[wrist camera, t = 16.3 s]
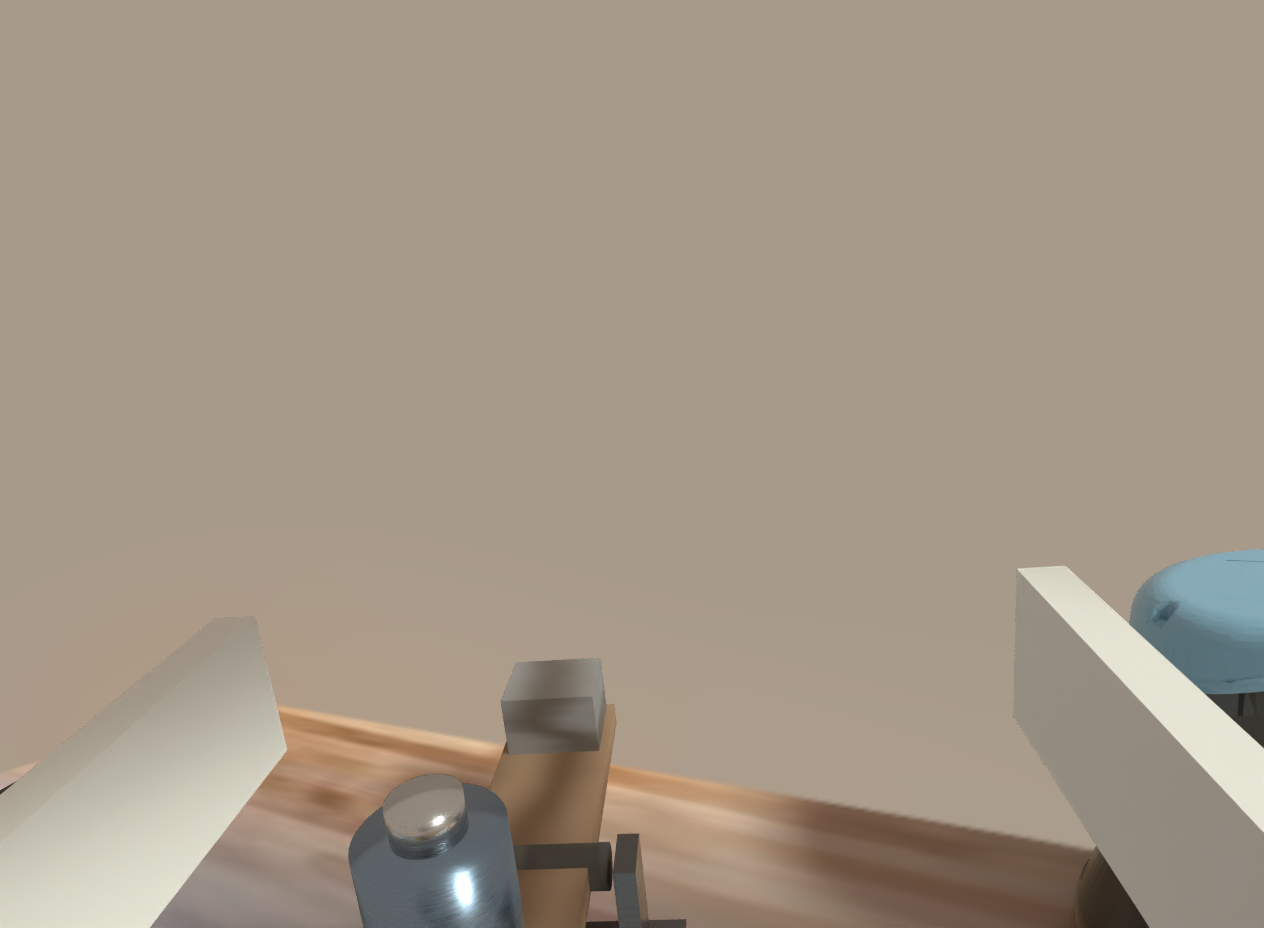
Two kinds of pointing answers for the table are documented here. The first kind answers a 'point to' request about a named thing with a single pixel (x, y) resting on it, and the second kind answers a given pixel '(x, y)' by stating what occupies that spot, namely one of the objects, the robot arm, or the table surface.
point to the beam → (557, 786)
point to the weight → (437, 859)
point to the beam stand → (631, 889)
